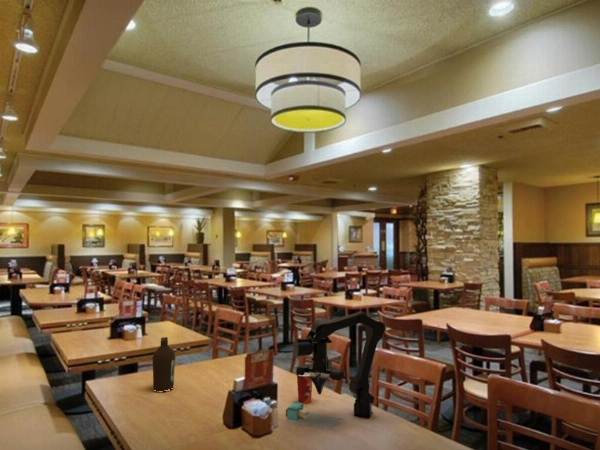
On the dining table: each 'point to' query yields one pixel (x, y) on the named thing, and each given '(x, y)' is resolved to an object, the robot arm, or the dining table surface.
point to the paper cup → (304, 388)
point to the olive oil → (163, 367)
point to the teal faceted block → (294, 410)
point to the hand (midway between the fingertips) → (319, 394)
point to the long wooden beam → (302, 414)
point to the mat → (318, 421)
